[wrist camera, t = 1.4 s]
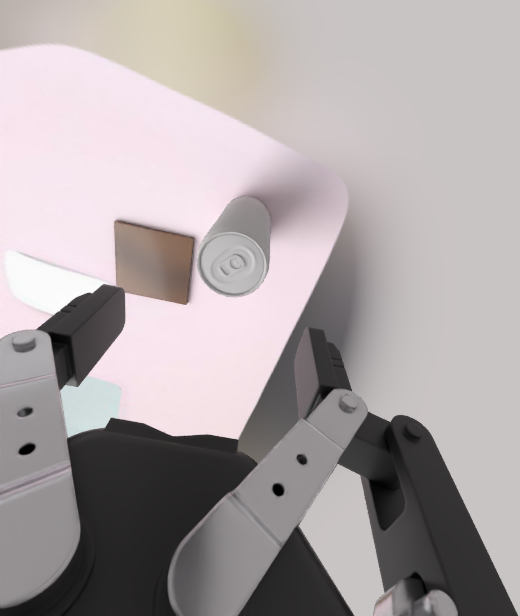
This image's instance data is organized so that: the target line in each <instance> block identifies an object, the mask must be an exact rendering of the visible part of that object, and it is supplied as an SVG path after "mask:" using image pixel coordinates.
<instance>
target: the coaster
mask: <svg viewBox="0 0 520 616" xmlns="http://www.w3.org/2000/svg"><path fill="white" fill-rule="evenodd" d="M114 231H115V257H116V284H117V287H121V288H123V289H124V291H125V292H126V293H131V294H136V295H141V296H146V297H150V298H155V299H160V300H165V301H170V302H175V303H180V304H184V305H186V304H187V299H188V289H189V280H190V270H191V261H192V251H193V242H194V238H190V237H186V236H181V235H177V234H172V233H168V232H164V231H159V230H155V229H150V228H146V227H141V226H137V225H132V224H128V223H123V222H119V221H115V222H114Z"/></svg>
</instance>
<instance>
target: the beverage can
mask: <svg viewBox="0 0 520 616" xmlns="http://www.w3.org/2000/svg"><path fill="white" fill-rule="evenodd" d="M270 230H271V219H270V214H269V212H268V210H267V208H266V207H265V205H264V204H263V203H262V202H260V201H259V200H258V199H256V198H253V197H248V196H242V197H237V198H236V199H234V200H232V201H231V202H230V203H229V204H228V205H227V207H226V208H225V210H224V211H223V213H222V214H221V216H220V217H219V218H218V220H217V221H216V222H215V224H214V225H213V226H212V228H211V229H210V230H209V232H208V233H207V235H206V236H205V238H204V239H203V241H202V243H201V244H200V246H199V250H198V254H197V256H198V257H197V268H198V271H199V275H200V277H201V278H202V280H203V282H204V283H205V284H206V285H207V286H208V287H209V288H210V289H211V290H213V291H214V292H216V293H218V294H220V295H223V296H226V297H241V296H245V295H248V294H250V293H252V292H254V291H255V290H256V289H257V288H259V286H260V285H261V284H262V282H263V281H264V279H265V277H266V275H267V272H268V270H269V261H270Z"/></svg>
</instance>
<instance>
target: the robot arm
mask: <svg viewBox="0 0 520 616" xmlns="http://www.w3.org/2000/svg"><path fill="white" fill-rule="evenodd" d="M124 324H125V291H124V289H123V288H121V287H116V286H111V285H106V284H103V285H102V286H101V287H99V288H98V289H97V290H96V291H95V292H94V293H86V294H84V295H81V296H79V297H76V298H75V299H73V300H72V301H71V302H70V303H69V304H67V306H65V307H64V308H62V309H61V310H60V312H57V313H56V314H55V315H54V316H52V317H51V318H50V319H49V320H47V321H46V322H45V323H44V324H42V325H41V326H40V327H39V328H37V329H36V330H22V331H17V332H14V333H11V334H8V335H6V336H5V337H3V338H1V339H0V616H354V615H353V613H352V611H351V610H350V608H349V606H348V605H347V603H346V602H345V600H344V598H343V597H342V595H341V594H340V592H339V590H338V589H337V587H336V585H335V584H334V582H333V580H332V579H331V577H330V576H329V574H328V573H327V571H326V569H325V568H324V566H323V565H322V563H321V561H320V559H319V558H318V556H317V555H316V553H315V552H314V550H313V548H312V547H311V545H310V543H309V542H308V540H307V539H306V537H305V535H304V534H303V532H302V530H301V529H300V527H299V525H300V523H301V521H302V520H303V518H304V517H305V515H306V513H307V512H308V510H309V508H310V507H311V505H312V504H313V502H314V500H315V499H316V497H317V496H318V494H319V493H320V491H321V489H322V488H323V486H324V485H325V483H326V481H327V480H328V478H329V477H330V475H331V474H332V472H333V470H334V468H335V467H336V465H337V464H339V465H341V466H343V467H345V468H347V469H350V470H351V471H354V472H355V473H358V474H359V475H360V476H361V480H362V485H363V490H364V495H365V500H366V505H367V509H368V514H369V519H370V524H371V529H372V534H373V539H374V543H375V548H376V553H377V558H378V563H379V568H380V572H381V577H382V582H383V587H384V592H385V593H384V594H383V595H382V596H381V597H379V599H378V600H377V602H376V604H375V607H374V612H373V616H518V615H517V612H516V611H515V608H514V606H513V604H512V602H511V600H510V598H509V596H508V594H507V592H506V589H505V587H504V586H503V584H502V581H501V579H500V577H499V575H498V573H497V571H496V569H495V567H494V564H493V562H492V560H491V558H490V556H489V554H488V552H487V550H486V548H485V546H484V544H483V542H482V539H481V537H480V535H479V533H478V531H477V529H476V527H475V525H474V523H473V521H472V519H471V517H470V514H469V513H468V510H467V508H466V506H465V504H464V502H463V500H462V498H461V496H460V494H459V492H458V490H457V488H456V485H455V483H454V481H453V479H452V477H451V475H450V473H449V471H448V469H447V467H446V465H445V462H444V460H443V458H442V456H441V454H440V452H439V450H438V448H437V446H436V444H435V441H434V439H433V437H432V436H431V434H430V432H429V431H428V430H427V429H426V428H425V427H424V426H423V425H422V424H421V423H420V422H418V421H417V420H415V419H413V418H410V417H408V416H404V415H397V416H395V417H394V418H393V419H392V421H391V422H389V421H387V420H385V419H382V418H380V417H378V416H376V415H374V414H372V413H370V412H368V410H367V406H366V404H365V403H364V401H363V400H362V399H361V398H360V397H359V396H358V395H357V394H355V393H353V392H352V389H351V386H350V383H349V380H348V377H347V373H346V371H345V368H344V364H343V361H342V358H341V354H340V352H339V350H338V349H337V348H336V347H335V345H334V344H333V343H330V342H327V341H326V337H325V333H324V330H321V329H316V328H311V327H306V328H305V330H304V333H303V336H302V338H301V341H300V344H299V347H298V349H297V352H296V356H295V361H294V370H295V381H296V392H297V402H298V412H299V421H298V422H297V423H296V424H295V425H294V427H293V428H292V429H291V430H290V431H289V432H288V433H287V434H286V435H285V436H284V437H283V438H282V439H281V441H280V442H279V443H278V444H277V445H276V446H275V447H274V448H273V449H272V450H271V451H270V452H269V453H268V454H267V456H266V457H265V458H264V459H263V460H262V461H261V462H260V463H259V464H257V463H256V462H255V461H254V460H253V459H252V458H250V457H249V456H248V455H246V454H244V453H243V452H241V451H239V450H237V446H238V440H237V439H231V438H225V437H219V436H214V435H192V436H171V435H168V434H166V433H164V432H162V431H159V430H157V429H155V428H153V427H150V426H148V425H146V424H144V423H138V422H133V421H127V420H121V419H115V418H111V419H110V421H109V422H108V424H107V426H106V428H99V429H93V430H89V431H85V432H82V433H79V434H76V435H73V436H71V437H69V438H68V435H67V429H66V423H65V417H64V411H63V405H62V399H61V393H60V390H61V389H62V388H63V387H64V386H65V385H70V386H75V387H78V386H79V385H80V384H81V382H82V381H83V380H84V379H85V377H86V376H87V375H88V374H89V372H90V371H91V370H92V369H93V367H94V366H95V365H96V363H97V362H98V361H99V360H100V358H101V357H102V356H103V355H104V353H105V352H106V351H107V349H108V348H109V347H110V346H111V344H112V343H113V342H114V341H115V339H116V338H117V337H118V336H119V334H120V333H121V331H122V330H123V327H124Z"/></svg>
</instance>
